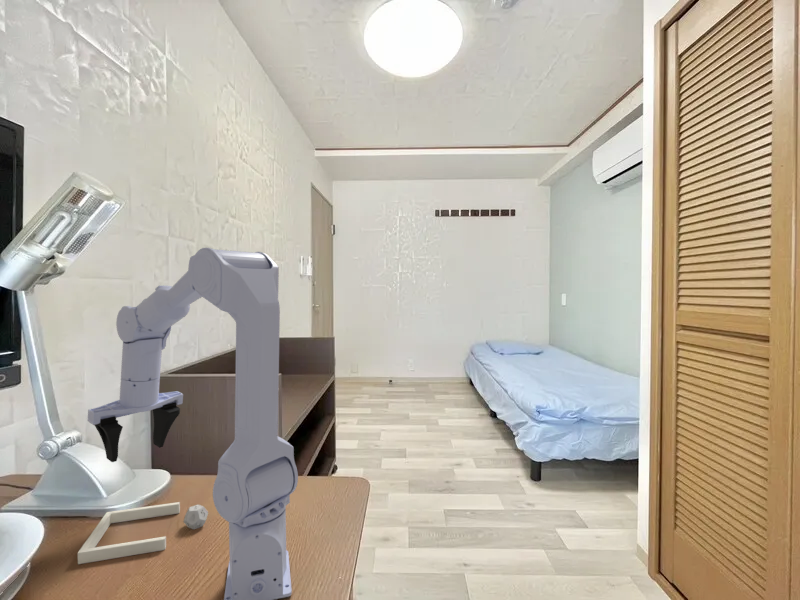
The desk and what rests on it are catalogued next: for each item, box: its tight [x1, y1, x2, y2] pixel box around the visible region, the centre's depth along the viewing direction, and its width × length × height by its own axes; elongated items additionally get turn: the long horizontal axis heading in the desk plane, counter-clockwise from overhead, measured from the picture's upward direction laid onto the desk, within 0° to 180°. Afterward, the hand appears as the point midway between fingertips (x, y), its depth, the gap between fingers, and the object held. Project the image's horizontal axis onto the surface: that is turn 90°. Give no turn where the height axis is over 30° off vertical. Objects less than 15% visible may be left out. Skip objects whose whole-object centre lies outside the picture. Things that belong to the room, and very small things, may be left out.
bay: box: [77, 501, 181, 565], centre depth 68 cm, size 12×11×2 cm
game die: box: [183, 504, 209, 531], centre depth 71 cm, size 4×4×3 cm
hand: (135, 452), depth 75 cm, fingers open, 7 cm apart
